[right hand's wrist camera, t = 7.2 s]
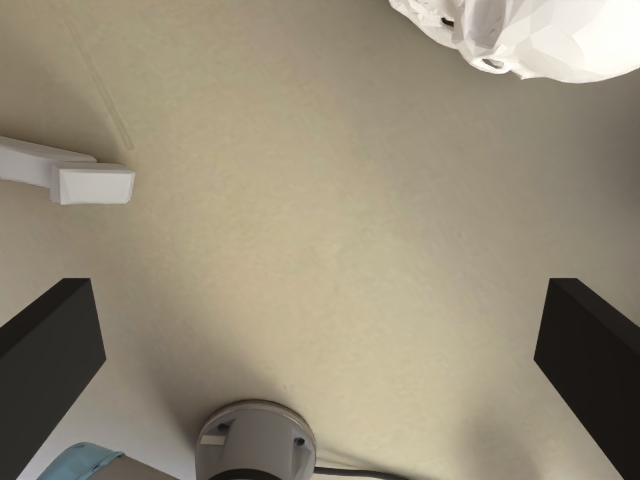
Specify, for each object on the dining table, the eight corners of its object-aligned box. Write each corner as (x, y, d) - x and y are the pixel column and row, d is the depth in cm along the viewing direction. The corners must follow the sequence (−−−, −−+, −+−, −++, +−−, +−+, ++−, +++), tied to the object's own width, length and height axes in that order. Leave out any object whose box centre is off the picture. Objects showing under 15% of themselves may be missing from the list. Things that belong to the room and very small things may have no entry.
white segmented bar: (141, 166, 44) (103, 179, 38) (136, 201, 45) (99, 219, 39) (-51, 113, 44) (-122, 116, 38) (-50, 149, 45) (-119, 159, 39)
